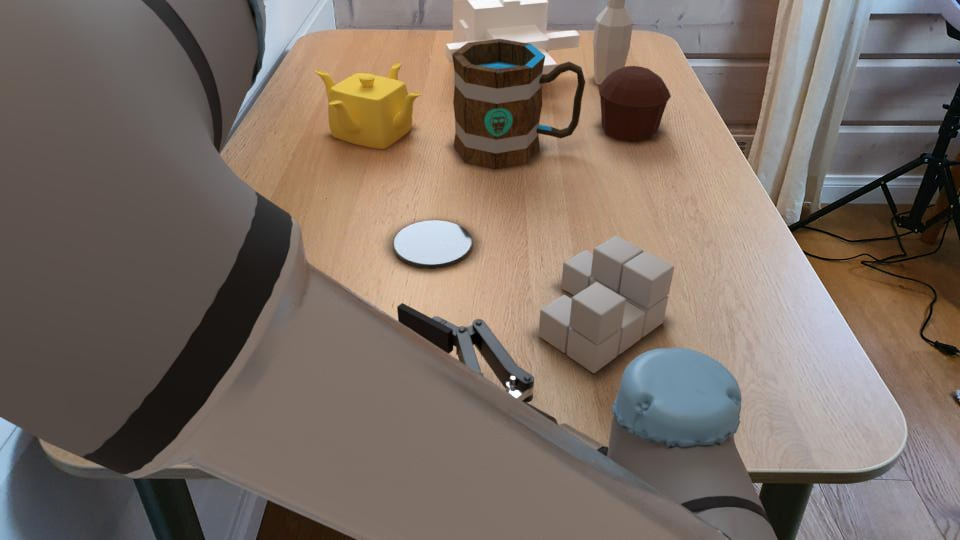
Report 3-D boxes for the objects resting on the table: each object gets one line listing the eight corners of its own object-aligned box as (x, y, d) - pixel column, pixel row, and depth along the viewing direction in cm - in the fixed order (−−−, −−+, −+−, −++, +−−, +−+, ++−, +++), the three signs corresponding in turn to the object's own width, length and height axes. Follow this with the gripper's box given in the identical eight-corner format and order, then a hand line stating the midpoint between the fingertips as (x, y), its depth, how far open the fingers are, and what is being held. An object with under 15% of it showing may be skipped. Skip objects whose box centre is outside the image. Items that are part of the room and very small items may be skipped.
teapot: (321, 120, 123) (314, 64, 118) (403, 109, 127) (400, 54, 121) (335, 159, 112) (328, 100, 106) (425, 146, 116) (422, 88, 110)
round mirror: (405, 275, 89) (405, 271, 89) (385, 232, 97) (385, 228, 96) (483, 259, 92) (483, 255, 91) (457, 218, 99) (457, 214, 99)
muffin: (678, 139, 118) (688, 79, 112) (617, 151, 115) (625, 90, 109) (638, 110, 127) (646, 53, 121) (581, 120, 124) (587, 62, 118)
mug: (450, 167, 110) (448, 71, 101) (456, 128, 121) (455, 37, 112) (581, 171, 110) (591, 74, 101) (576, 130, 120) (584, 40, 111)
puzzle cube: (582, 274, 89) (588, 219, 84) (663, 322, 82) (675, 265, 77) (511, 318, 83) (513, 261, 78) (593, 374, 76) (601, 315, 71)
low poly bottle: (583, 78, 138) (594, -46, 125) (612, 73, 140) (626, -50, 127) (602, 90, 133) (615, -37, 120) (631, 85, 136) (647, -41, 122)
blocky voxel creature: (465, 120, 128) (425, 52, 148) (596, 102, 134) (541, 39, 154) (466, 39, 118) (423, -23, 138) (607, 23, 124) (547, -33, 144)
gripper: (440, 605, 54) (253, 462, 64) (610, 403, 70) (437, 314, 80) (437, 546, 49) (236, 402, 59) (619, 344, 65) (435, 258, 75)
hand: (351, 351), depth 70 cm, fingers open, 13 cm apart
